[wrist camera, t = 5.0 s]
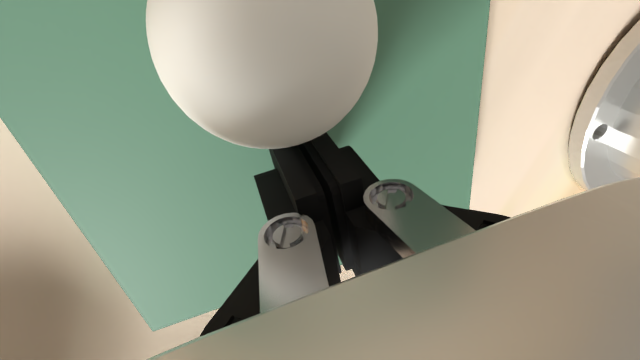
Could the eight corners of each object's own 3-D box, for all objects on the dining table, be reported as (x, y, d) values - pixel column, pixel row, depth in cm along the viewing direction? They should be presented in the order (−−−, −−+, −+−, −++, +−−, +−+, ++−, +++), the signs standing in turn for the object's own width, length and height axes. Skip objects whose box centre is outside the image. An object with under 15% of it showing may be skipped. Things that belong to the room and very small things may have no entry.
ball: (346, 23, 12) (333, -181, 7) (402, 152, 10) (431, -26, 5) (195, 66, 12) (88, -112, 7) (216, 207, 10) (81, 76, 5)
